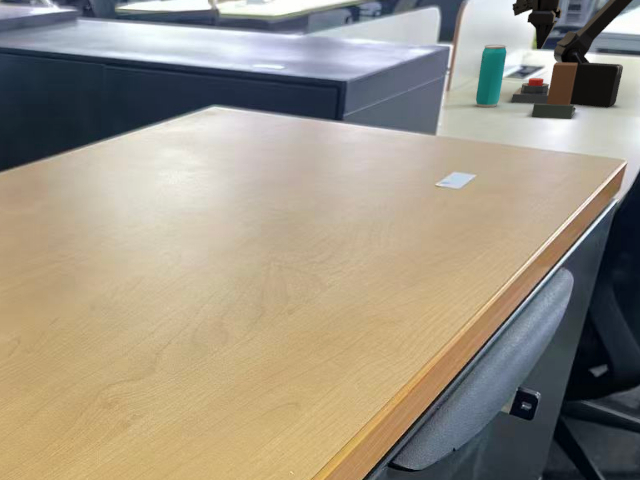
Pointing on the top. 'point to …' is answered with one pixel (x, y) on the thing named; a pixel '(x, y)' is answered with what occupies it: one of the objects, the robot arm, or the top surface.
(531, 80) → the power button
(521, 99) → the power panel
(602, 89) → the electronic device
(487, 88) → the beverage can
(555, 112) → the block
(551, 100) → the brown box
